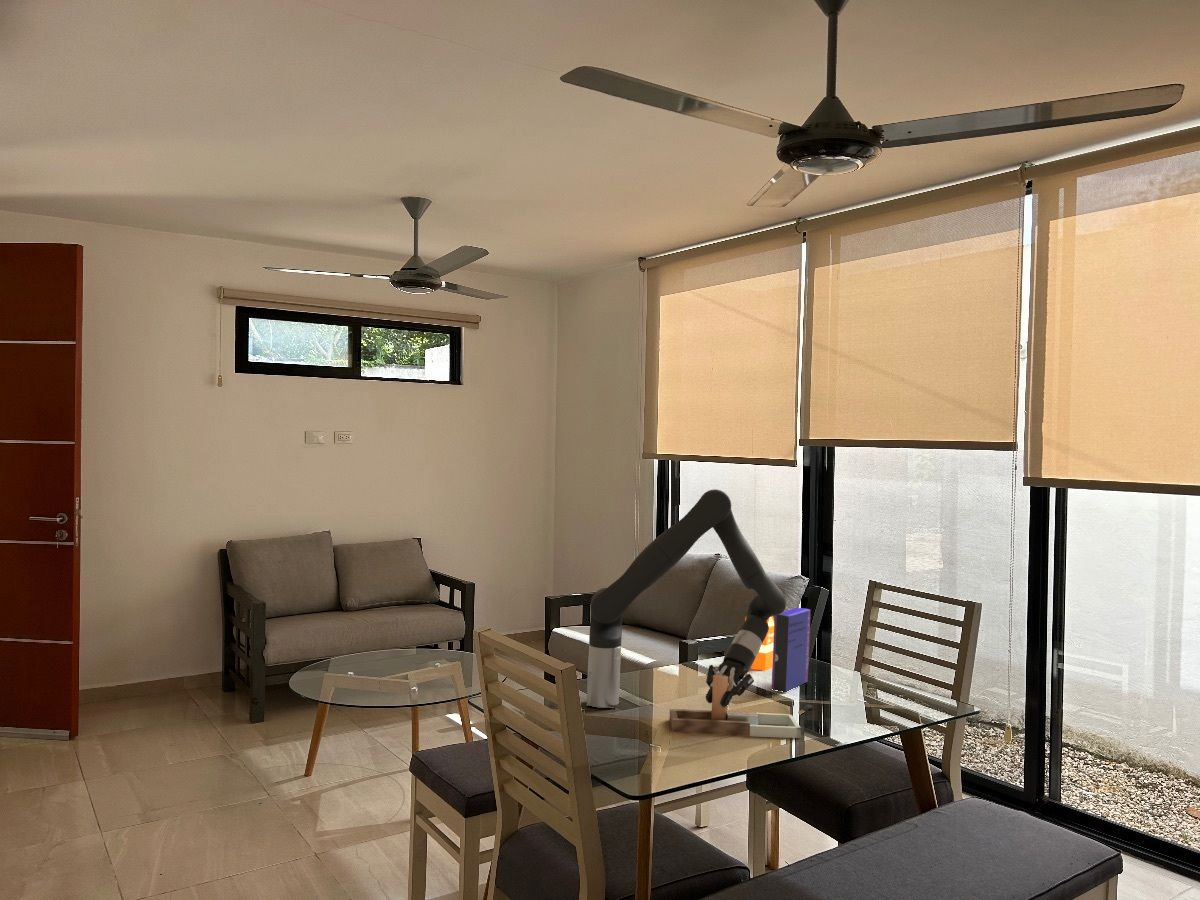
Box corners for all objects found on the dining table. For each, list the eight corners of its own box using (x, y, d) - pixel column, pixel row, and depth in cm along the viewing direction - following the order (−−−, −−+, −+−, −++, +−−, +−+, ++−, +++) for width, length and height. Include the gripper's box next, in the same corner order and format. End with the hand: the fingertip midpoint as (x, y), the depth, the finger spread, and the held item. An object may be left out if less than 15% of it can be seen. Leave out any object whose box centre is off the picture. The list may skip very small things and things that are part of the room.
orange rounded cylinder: (712, 723, 236) (714, 677, 236) (710, 719, 240) (712, 674, 240) (727, 724, 236) (729, 678, 236) (725, 719, 240) (727, 674, 240)
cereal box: (793, 679, 296) (796, 607, 296) (807, 682, 294) (810, 609, 294) (771, 690, 282) (774, 613, 282) (785, 693, 279) (788, 615, 279)
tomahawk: (799, 731, 244) (800, 727, 244) (776, 724, 248) (777, 720, 248) (827, 713, 261) (827, 709, 261) (805, 707, 265) (806, 703, 265)
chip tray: (749, 739, 232) (750, 725, 232) (742, 725, 244) (743, 712, 244) (800, 741, 232) (800, 727, 232) (790, 727, 244) (791, 714, 244)
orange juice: (765, 670, 307) (767, 612, 307) (741, 666, 312) (743, 609, 312) (773, 666, 314) (776, 609, 314) (750, 662, 319) (752, 606, 319)
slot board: (672, 736, 232) (673, 721, 232) (668, 722, 244) (669, 707, 244) (749, 739, 232) (750, 724, 232) (742, 725, 244) (743, 710, 244)
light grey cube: (727, 730, 236) (727, 715, 236) (725, 725, 240) (725, 710, 240) (742, 731, 236) (743, 715, 236) (740, 726, 240) (741, 711, 240)
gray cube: (742, 730, 236) (742, 715, 236) (740, 726, 240) (740, 711, 240) (757, 731, 236) (758, 716, 236) (755, 726, 240) (755, 711, 240)
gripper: (716, 638, 248) (687, 689, 240) (760, 647, 239) (732, 701, 230) (727, 654, 252) (699, 705, 243) (770, 664, 242) (743, 717, 234)
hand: (715, 703), depth 237 cm, fingers closed on orange rounded cylinder, 4 cm apart
